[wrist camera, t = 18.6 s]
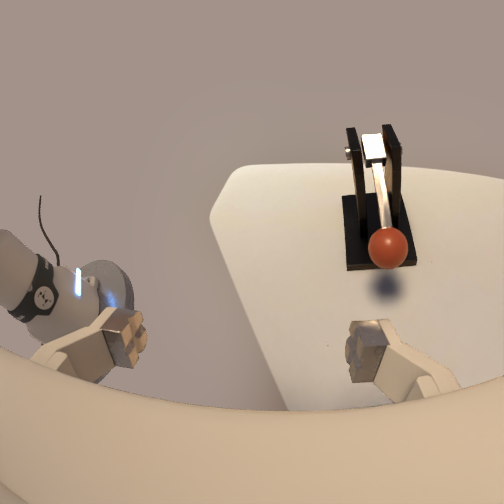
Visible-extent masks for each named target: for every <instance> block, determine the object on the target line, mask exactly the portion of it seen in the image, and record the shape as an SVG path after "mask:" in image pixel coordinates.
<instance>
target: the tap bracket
mask: <svg viewBox="0 0 504 504" xmlns="http://www.w3.org/2000/svg"><path fill="white" fill-rule="evenodd" d="M382 129H383V141H384V145H385V150H386V154H387V160H386V166H385V182H386V187H387V194H388V200H389V207H390V214H391V222H392V228H395V229H397V230H399V231H400V232H401V233H402V234H403V235H404V236H405V238H406V240H407V243H408V253H407V256H406V258H405V260H404V262H403V263H402V264H401V265H399V266H411V265H416V263H417V256H416V251H415V246H414V242H413V237H412V233H411V229H410V225H409V221H408V217H407V213H406V209H405V206H404V202H403V199H402V195H401V155H402V146H401V143H400V142H399V141H398V139H397V136H396V134H395V132H394V130H393V128H392V126H391V124H386V125H382ZM346 131H347V137H348V143H349V147H345V151H346V157H347V160H351V163H352V170H353V177H354V185H355V194H356V195H346V196H342V204H343V215H344V228H345V243H346V263H347V271H349V270H362V269H375V268H380V267H378V266H377V265H376V264H375V263H374V262H373V261H372V260H371V258H370V256H369V252H368V244H369V240H370V238H371V236H372V235H373V234H374V233H375V232H376V231H377V230H379V229H380V221H379V212H378V205H377V198H376V193H367V194H366V192H365V180H364V170H363V163H362V162H363V161H362V153H361V147H360V144H359V140H358V136H357V133H356V129H355V128H347V129H346ZM399 266H398V267H399Z"/></svg>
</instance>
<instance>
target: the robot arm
mask: <svg viewBox="0 0 504 504" xmlns="http://www.w3.org/2000/svg"><path fill="white" fill-rule="evenodd" d="M40 205H41V196H40V200H39V222H40V226H41V229H42V232H43V234H44V236H45V237H46V239H47V241H48V243H49V244H50V246H51V248H52V250H53V251H54V252H55V254H56V258H57V267H53V266H52V264H50V263H49V262H48V261H47V260H46V259H45V258H43V257H41V256H40V255H39V254H34V253H33V252H32V251H31V250H30V249H29V248H28V247H26V246H25V245H24V244H23V243H22V242H21V241H20V240H19V239H17V238H16V237H15V236H14V235H13V234H12V233H11V232H9V231H7V230H3V229H2V230H0V305H2V306H3V307H4V308H6V309H7V310H8V312H9V314H11V315H12V316H13V317H14V318H16V319H17V320H20V321H21V322H23V323H25V324H26V325H27V328H28V331H29V333H30V336H31V337H33V338H34V339H36V340H37V341H39V342H41V343H42V344H44V345H42V346H41V347H40V349H39V350H38V351H37V352H36V353H35V354H34V355H33V357H32V358H31V359H30V360H29V359H26V358H24V357H22V356H19V355H17V354H15V353H13V352H11V351H9V350H7V349H5V348H3V347H1V346H0V504H504V375H503V376H501V377H498V378H495V379H492V380H489V381H486V382H483V383H480V384H477V385H474V386H470V387H467V388H463V389H461V387H460V386H459V384H458V382H457V380H456V378H455V377H454V375H453V373H452V372H451V370H450V369H448V368H446V367H445V366H443V365H441V364H440V363H438V362H436V361H435V360H433V359H431V358H430V357H428V356H426V355H425V354H423V353H421V352H420V351H418V350H416V349H415V348H413V347H411V346H410V345H408V344H403V343H402V341H401V339H400V337H399V336H398V334H397V332H396V330H395V328H394V327H393V325H392V323H391V321H390V320H389V319H380V320H368V321H352V322H351V324H350V328H349V331H350V334H351V336H350V337H349V338H348V339H347V341H346V346H345V357H346V361H347V363H348V364H349V365H350V369H349V373H350V376H351V380H352V383H360V382H373V383H374V384H375V385H376V386H377V387H378V388H379V389H380V390H381V391H382V392H383V393H384V394H385V395H386V396H387V397H389V398H390V399H391V400H392V401H393V402H394V404H387V405H380V406H372V407H363V408H353V409H342V410H325V411H258V410H242V409H229V408H218V407H209V406H201V405H193V404H186V403H180V402H174V401H168V400H162V399H157V398H152V397H147V396H142V395H138V394H133V393H129V392H124V391H121V390H116V389H113V388H109V387H106V386H102V385H98V384H95V383H92V382H93V381H95V380H96V379H98V378H99V377H101V376H102V375H104V374H105V373H106V372H108V371H109V370H111V369H112V368H113V367H115V366H120V367H126V368H131V369H133V368H134V366H135V364H136V363H137V361H138V359H139V356H138V353H140V352H142V351H143V350H144V348H145V347H146V342H147V333H146V329H145V328H144V327H143V326H142V324H141V323H142V322H143V317H142V313H141V312H140V311H135V310H129V309H122V308H115V307H106V308H105V309H104V311H103V312H102V313H101V314H100V315H99V316H98V314H99V296H98V293H97V287H98V279H97V278H95V277H94V276H90V277H81V271H80V270H79V269H78V268H77V270H76V273H75V272H73V271H72V270H71V269H69V268H68V267H67V266H65V265H63V266H60V262H59V255H58V253H57V251H56V249H55V248H54V246H53V245H52V243H51V242H50V240H49V238H48V237H47V235H46V233H45V231H44V229H43V227H42V223H41V218H40Z"/></svg>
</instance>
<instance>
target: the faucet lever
mask: <svg viewBox="0 0 504 504" xmlns="http://www.w3.org/2000/svg"><path fill="white" fill-rule="evenodd" d="M361 144H362V150H363V155H364V160H365V166H366V168H370V167H372V173H373V179H374V185H375V191H376V198H377V205H378V212H379V221H380V229H379V230H377V231H376V232H375V233H374V234H373V235H372V236H371V238H370V240H369V244H368V252H369V256H370V258H371V260H372V261H373V262H374V263H375V264H376V265H377V266H378V267H380V268H383V269H393V268H396V267H398V266H399V265H401V264H402V263H403V262H404V260H405V258H406V256H407V253H408V243H407V240H406V238H405V236H404V235H403V234H402V233H401V232H400V231H399V230H397V229H395V228H392V222H391V214H390V207H389V200H388V194H387V187H386V182H385V176H384V171H383V166H386V160H387V154H386V150H385V145H384V141H383V137H382V134H381V133H378V134H368V135H361Z"/></svg>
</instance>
